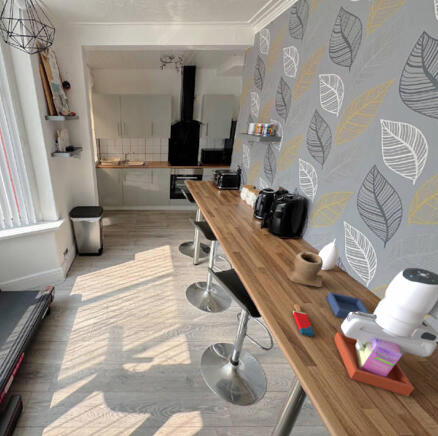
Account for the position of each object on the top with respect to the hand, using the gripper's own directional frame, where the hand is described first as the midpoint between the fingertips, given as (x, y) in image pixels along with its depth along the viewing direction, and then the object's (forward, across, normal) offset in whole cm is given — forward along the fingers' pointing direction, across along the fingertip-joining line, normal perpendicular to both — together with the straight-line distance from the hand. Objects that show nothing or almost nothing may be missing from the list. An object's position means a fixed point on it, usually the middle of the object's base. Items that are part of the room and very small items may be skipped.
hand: (374, 352), depth 72 cm
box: (+5, 0, 0) cm, 5 cm away
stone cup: (+6, -9, +40) cm, 41 cm away
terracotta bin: (+5, 0, 0) cm, 5 cm away
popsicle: (+6, -16, +13) cm, 21 cm away
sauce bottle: (+6, +3, +56) cm, 56 cm away
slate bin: (+5, +3, +25) cm, 26 cm away
